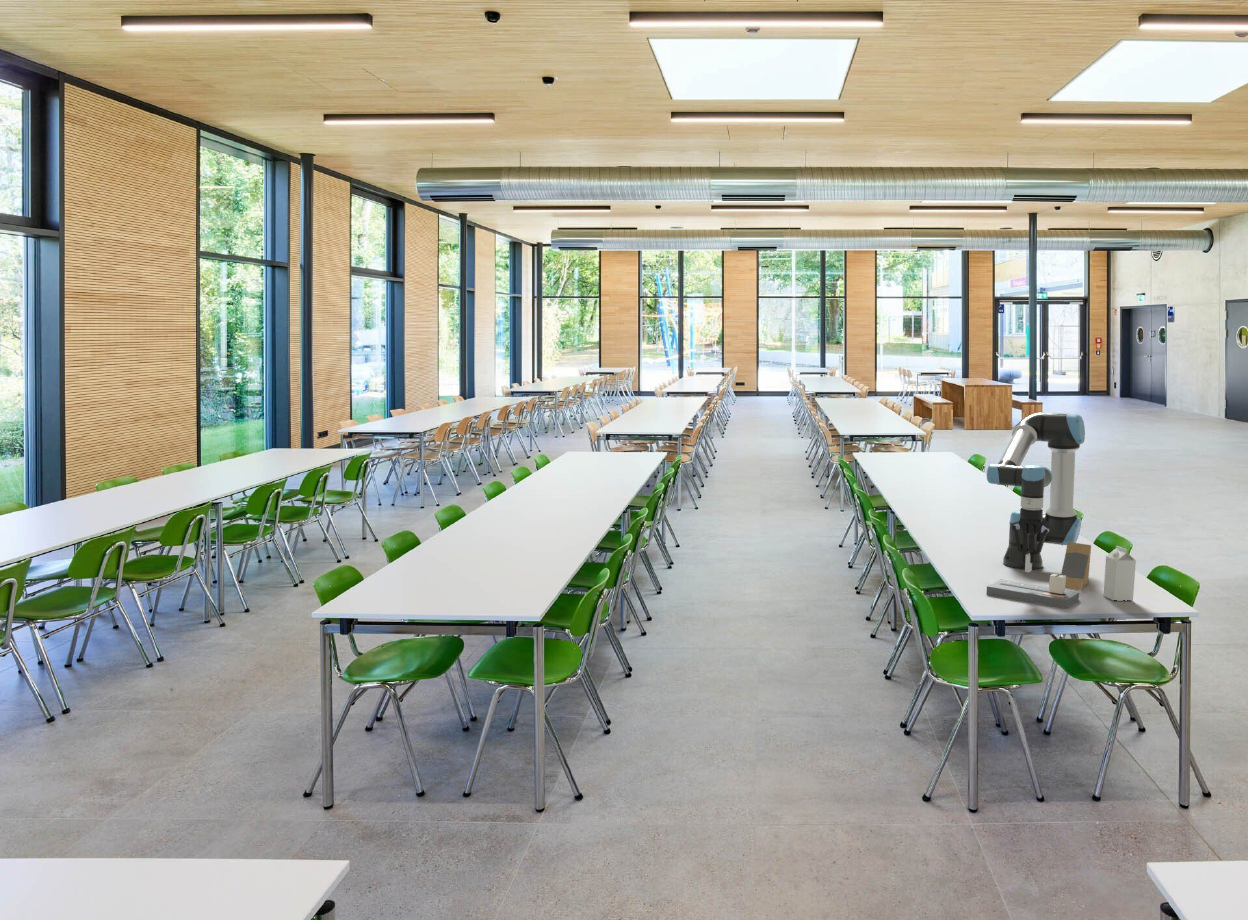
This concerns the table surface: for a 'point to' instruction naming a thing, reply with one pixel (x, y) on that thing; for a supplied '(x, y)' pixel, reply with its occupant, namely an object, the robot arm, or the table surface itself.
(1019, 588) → the fader console
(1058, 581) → the fader knob
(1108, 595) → the milk carton
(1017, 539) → the robot arm
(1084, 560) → the sandwich container
